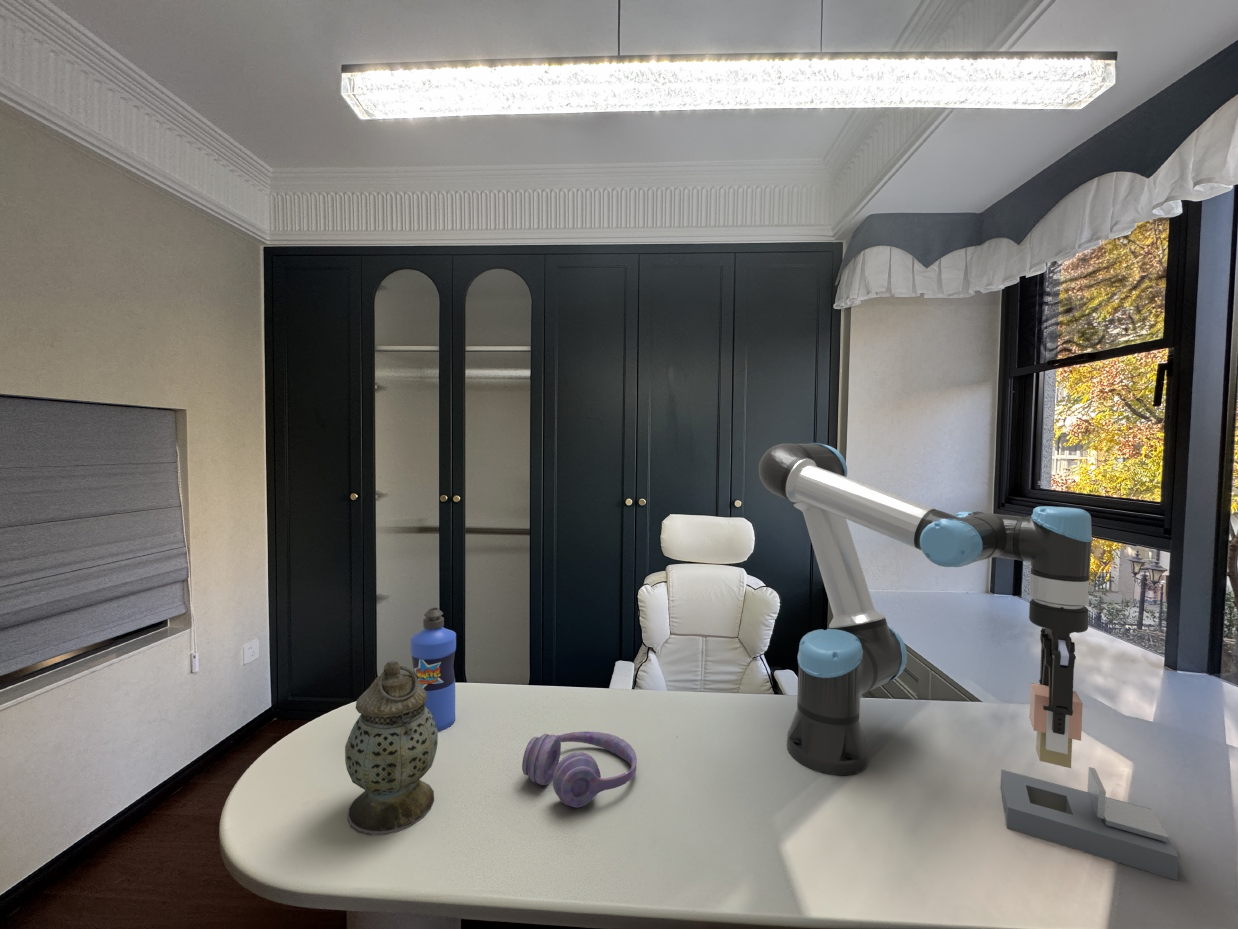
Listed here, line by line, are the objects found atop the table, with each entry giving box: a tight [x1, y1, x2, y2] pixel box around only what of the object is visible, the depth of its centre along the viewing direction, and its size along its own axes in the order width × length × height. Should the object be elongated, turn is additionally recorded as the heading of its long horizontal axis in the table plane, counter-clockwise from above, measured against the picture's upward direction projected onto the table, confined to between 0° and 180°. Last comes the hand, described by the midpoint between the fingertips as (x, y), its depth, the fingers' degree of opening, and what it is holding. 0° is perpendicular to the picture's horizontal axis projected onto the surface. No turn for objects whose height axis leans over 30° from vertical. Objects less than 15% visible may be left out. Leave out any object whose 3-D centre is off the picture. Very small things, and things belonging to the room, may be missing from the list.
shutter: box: [1086, 766, 1169, 842], centre depth 85 cm, size 8×7×5 cm
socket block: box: [999, 769, 1180, 881], centre depth 88 cm, size 20×12×4 cm, turn 59°
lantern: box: [344, 660, 439, 836], centre depth 91 cm, size 14×14×25 cm
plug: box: [1029, 682, 1084, 769], centre depth 90 cm, size 6×5×11 cm
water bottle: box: [410, 607, 457, 733], centre depth 118 cm, size 9×9×25 cm
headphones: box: [521, 731, 638, 808], centre depth 100 cm, size 18×8×20 cm
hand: (1053, 742), depth 90 cm, fingers closed on plug, 5 cm apart
